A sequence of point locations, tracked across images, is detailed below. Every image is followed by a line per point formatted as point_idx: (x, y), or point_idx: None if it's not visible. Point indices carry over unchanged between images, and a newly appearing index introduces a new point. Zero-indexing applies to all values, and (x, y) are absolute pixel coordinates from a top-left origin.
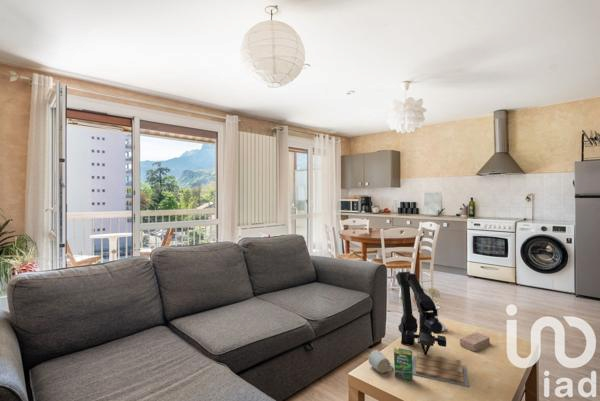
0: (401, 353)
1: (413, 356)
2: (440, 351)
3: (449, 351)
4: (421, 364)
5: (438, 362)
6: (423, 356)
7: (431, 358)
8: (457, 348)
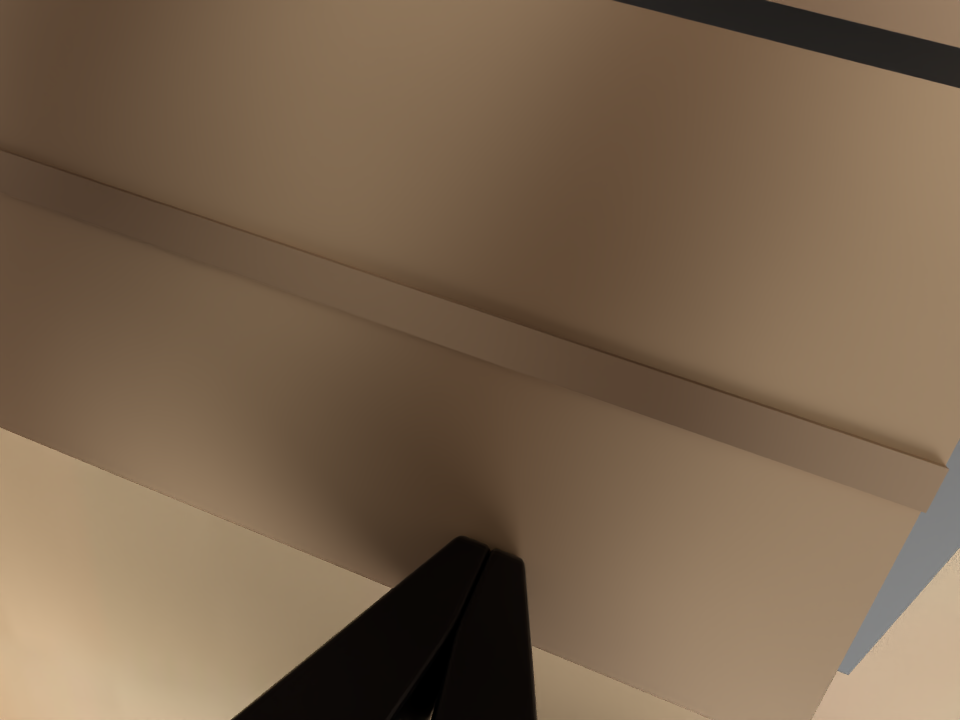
0: None
1: (869, 637)
2: (210, 682)
3: (89, 657)
4: (864, 10)
5: (96, 158)
6: (594, 499)
7: (304, 365)
8: (12, 691)
